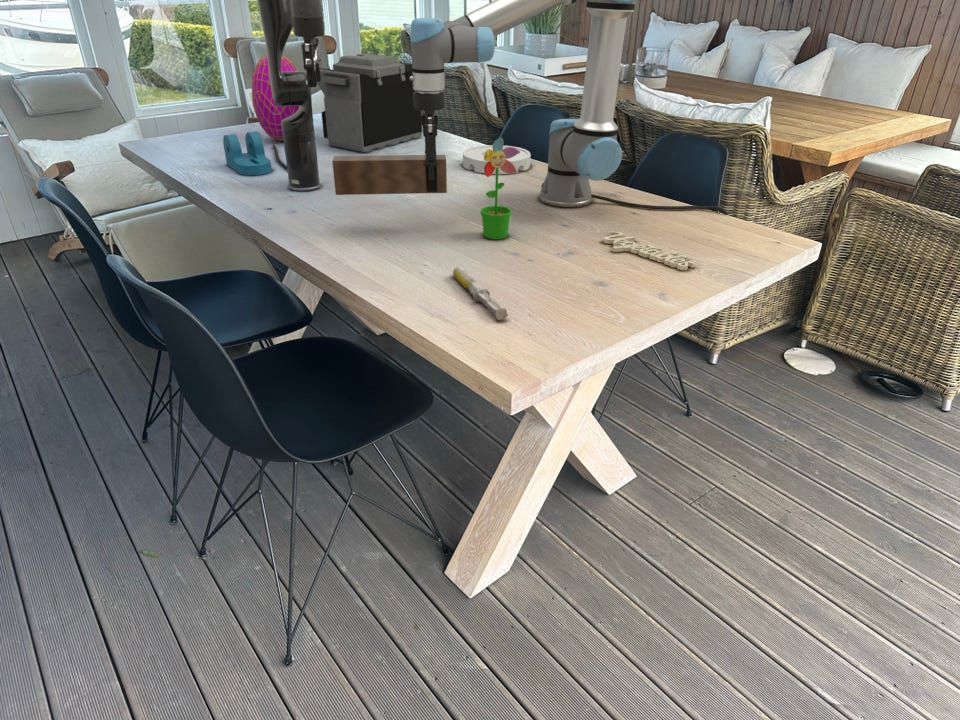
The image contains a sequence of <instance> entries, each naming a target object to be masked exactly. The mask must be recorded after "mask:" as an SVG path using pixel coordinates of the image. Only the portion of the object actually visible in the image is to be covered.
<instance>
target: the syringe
mask: <svg viewBox="0 0 960 720" xmlns="http://www.w3.org/2000/svg"><path fill="white" fill-rule="evenodd" d="M452 274H453V277H454V279H455V280H457V281H458V282H459V283H460V285H462V287H464V289H466V290H467V291H468V293H470V295H471V296H472V298H473V300H474V302H477V303H478V302H480V303H482V304H483V305H484V306H485V307H486V308H487V309H488V310H489V311H490V312H491V313H492V314H493V315H494V316H495V317H496V320H497V321H503V320H504V319H506V318H507V317H509V314H508V310H507V308H506V307H502V306H501V305H500V303H498V302H497V301H496V300H494V299H493V298H492V297H491V296H490V295H491V293H490V290H488V289H486V288H483V287H482V286H481V285H480V284H479V283H478V282H477V281H476V280H474V278H473V277H471V275H469V274H468V273H467V272H466V270H465V269H464V268H463V267H462V266H456V267H454V268H453V271H452Z"/></svg>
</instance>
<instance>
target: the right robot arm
mask: <svg viewBox="0 0 960 720" xmlns="http://www.w3.org/2000/svg"><path fill="white" fill-rule="evenodd" d="M580 1H581V0H492V1H490V2H489V3H487V4H485V5H482V6H480V7H479V8H476V9H474V10H472V11H470V12H468V13H466V14H464V15H462V16H460V17H458V18H455V19H453V20H446V21H443V19H442V18H438V17H418V18H414V19H412V21H411V23H410V51H411V64H412V72H413V73H412V74H413V76H410V80H414V81H413V89H414V90H415V92H414V93H413V106H414V108H415V109H417V110H422V111H424V113H423V115H422V116H421V121H422V130H423V132H422V137H423V138H424V155H426V164H423V166H426V192H437V162H436V155H437V136H438V125H439V118H438V115H435V112H436V111H441V110H444V109H445V107H446V95H445V94H446V93H445V92H444V90H445V89H446V81H445V64H459V63H460V64H462V63H464V64H466V63H477V64H480V63H486V62H490V61H491V60H492V59H493V57H494V55H495V50H496V49H495V48H496V40H495V37H497V36H499V35H501V34H503V33H505V32H507V31H509V30H511V29H513V28H515V27H518V26H519V25H522V24H523V23H525V22H528V21H530V20H532V19H534V18H535V17H538V16H540V15H541V14H544V13H546V12H548V11H550V10H552V9H554V8H556V7H558V6H560V5H565V6H570V5H572V4H574V3H576V2H580ZM585 8H586V11H587V12H588V13H589V15H590V17H591V19H590V28H589V34H588V35H589V36H588V45H587V54H586V63H585V73H584V81H583V90H582V99H581V107H580V117H579V118H560V119H554V120H552V122H551V124H550V127H549V128H550V129H549V133H548V136H549V141H548V142H549V143H548V156H547V158H548V159H547V173H546V176H545V178H544V181H543V182H542V184H541V186H540V192H539V200H540V202H542V203H543V204H546V205H549V206H553V207H558V208H559V207H560V208H580V207H584V206H588V205H589V204H591V203H592V199H596V200H600V201H606V202H609V203H612V204H616V205H622V206H626V207H632V208H639V209H646V210H647V209H650V210H667V211H668V210H670V211H671V210H673V211H674V210H676V211H677V210H679V211H681V210H716V211H718V212H720V213H722V214H723V215H724V216H729V213H728V211H727V210H725V209H724V208H723V207H721V206H718V205H650V204H640V203H633V202H629V201H623V200H619V199H615V198H610V197H606V196H603V195H598V194H593V193H592V188H591V184H590V181H594V182H595V181H597V182H598V181H602V180H606V179H607V178H609V177H610V176H611V175H613V173H615V172H616V171H617V170H618V169H619V166H620V165H621V163H622V159H623V151H622V150H623V149H622V148H621V147H622V146H621V145H620V143H619V142H618V141H617V140H618V139H617V138H618V132H619V127H618V125H617V123H616V122H615V121H614V116H615V111H616V110H615V109H616V101H617V94H618V87H619V79H620V72H621V64H622V56H623V51H624V49H623V48H624V42H625V35H626V27H627V19H628V18H629V17H630V16H631V15H632V14H633V13H634V12H635V8H636V0H586V7H585Z"/></svg>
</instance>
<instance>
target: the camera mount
mask: <svg viewBox="0 0 960 720" xmlns="http://www.w3.org/2000/svg"><path fill="white" fill-rule="evenodd" d="M222 140H223V141H222V143H223V149H224V150H223V151H224V156H225V161H226V165H227V166H228V167H230V168H231V169H232V170H234V171H236V172H237V173H238V174H239V175H244V176H260V175H265V174H268V173H271V172H272V164H271V159H270V158H268V157H267V156H266V153H265V145H264V141H263V139H262V136H261V134H260V132H258V131H247V132H246V133H245V146H246V152H243V151H242V150H243V149H242V146H241V142H240V140H239V138H238V135H236V134H235V133H231V134H224V135H223V138H222Z"/></svg>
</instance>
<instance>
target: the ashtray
mask: <svg viewBox="0 0 960 720" xmlns="http://www.w3.org/2000/svg"><path fill="white" fill-rule="evenodd" d="M506 147H514V148H516V149H518V150H519V151H520V153H519V154H517V155H515V156H514V157H512V158H509V159H505V160H508V161H510V162H511V163H512V164H513V165H514V167H515V168H516V170H517V172H515V173H514V174H517V173H519V172H524V171H527V170H528V169H530V167H531V156H532V154H531V151H529V150H527V149H525V148H522V147H517V146H512V145H503V149H504V148H506ZM487 149H491V150H492V151H493V144H488V145H487V144H486V145H478V146H471V147H469V148H466V149H464V150H463V152H462V166H463V168H464V169H466V170H468V171H474V172H475V173H480V174H485V172H484V167H485V165H486V163H487V162H489V161H485V160H484V155H485V153H486V151H487ZM510 174H512V173H506V172H504V171H502V170H501V169H500V168H499V169H498V175H510ZM491 175H496V168H495V170H494V172H493V173H492V174H491Z"/></svg>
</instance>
